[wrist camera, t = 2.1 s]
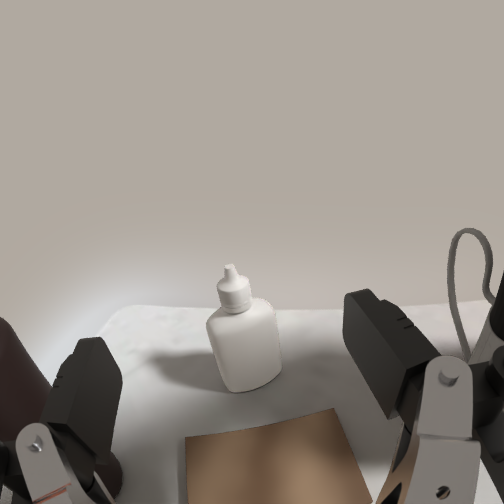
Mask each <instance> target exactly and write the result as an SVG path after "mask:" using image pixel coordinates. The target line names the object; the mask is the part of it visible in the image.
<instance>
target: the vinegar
mask: <svg viewBox="0 0 504 504" xmlns="http://www.w3.org/2000/svg"><path fill="white" fill-rule="evenodd" d="M51 388H53V387H52V386H51V385H50V384H49V382H48V381H47V380H46V378H45V377H44V376H43V374H42V373H41V371H40V370H39V369H38V367H37V366H36V364H35V363H34V361H33V360H32V359H31V357H30V356H29V354H28V353H27V351H26V349H25V348H24V346H23V345H22V343H21V342H20V340H19V339H18V337H17V335H16V333H15V332H14V330H13V329H12V327H11V326H10V324H9V323H8V322H7V321H5V320H4V319H3V318H1V317H0V441H1V442H7V441H13V440H16V439H17V437H18V435H19V433H20V432H21V430H22V429H23V428H25V427H26V426H27V425H30V424H32V423H38V422H39V420H40V417H41V414H42V411H43V409H44V406H45V403H46V401H47V398H48V395H49V393H50V390H51ZM94 471H95V472H96V473H97V474H98V476H99V478H100V479H101V481H102V482H103V484H104V486H105V487H106V489H107V490H108V492H109V493H110V495H111V497H112V498H113V499H114V498H115V497H116V495H117V494H118V493H119V490H120V487H121V485H122V470H121V467H120V463H119V461H118V460H117V459H116V457H115V456H114V454H113V453H112V452H111V451H110V457H109V464H108V465H101V464H95V470H94Z"/></svg>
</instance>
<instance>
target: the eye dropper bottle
mask: <svg viewBox="0 0 504 504" xmlns="http://www.w3.org/2000/svg"><path fill="white" fill-rule="evenodd" d="M217 290H218V294H219V298H220V302H221V306H222V307H220V308H219V309H218V310H217V311H216V312H214V313H213V314H212V315H211V316H210V317H209V319H208V320H207V322H206V329H207V333H208V337H209V340H210V343H211V347H212V350H213V353H214V356H215V359H216V362H217V365H218V368H219V371H220V374H221V377H222V380H223V382H224V383H225V385H226V387H227V388H228V390H230V391H231V392H234V393H239V392H245V391H250V390H253V389H256V388H259V387H261V386H263V385H265V384H267V383H268V382H270V381H271V380H272V379H274V378H275V377H276V376H277V375H278V374H279V373H280V371H281V369H282V360H281V352H280V343H279V336H278V328H277V321H276V315H275V311H274V309H273V307H272V306H271V305H270V304H269V303H268V302H267V301H266V300H264V299H262V298H252V294H251V288H250V283H249V279H248V278H247V277H245V276H243V275H238V273H237V271H236V269H235V266H234V264H228V265H226V266H225V277H224V278H223V279H221V280H220V281H219V282H218V284H217Z"/></svg>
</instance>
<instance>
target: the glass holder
mask: <svg viewBox="0 0 504 504" xmlns="http://www.w3.org/2000/svg"><path fill="white" fill-rule="evenodd" d="M464 233H470V234H473V235H474V236H475V237H477V239H478V240H479V241H480V243H481V245H482V247H483V250H484V253H485V261H486V266H485V274H484V279H483V285H482V288H483V289H482V290H483V294H484V296H485V298H486V299H487V301H488V302H489V303H491V304H492V307H491V308H490V311H489V313H488V316H487V319H486V321H485V324H484V327H483V329H482V332H481V335H480V337H479V340H478V342H477V344H476V347H475V349H474V351H473V354H472V356H471V354H470V349H469V346H468V342H467V339H466V336H465V333H464V330H463V326H462V323H461V319H460V316H459V312H458V308H457V302H456V295H455V284H454V264H455V256H456V249H457V245H458V241H459V239H460V237H461V235H462V234H464ZM492 267H493V255H492V250H491V247H490V244H489V242H488V241H487V239H486V237H485V236H484V235H483V234H482V233H481V232H480V231H479V230H476V229H474V228H465V229H462V230H460V231H459V232H457V233H456V234H455V236H454V238H453V239H452V242H451V246H450V250H449V258H448V266H447V284H448V296H449V304H450V310H451V314H452V318H453V321H454V324H455V327H456V331H457V335H458V338H459V341H460V344H461V348H462V351H463V355H464V359H465V363H466V364H467V365H471V364H476V363H482V362H486V361H490V359H491V357H492V355H493V353H494V351H495V350H496V349H497V348H498V347H500V346H503V345H504V273H503V276H502V280H501V283H500V286H499V290H498V293H497V296H496V298H495V297H494V296H493V295H492V293H491V292H490V289H489V283H490V277H491V273H492ZM503 411H504V410H503Z"/></svg>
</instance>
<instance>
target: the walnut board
mask: <svg viewBox="0 0 504 504" xmlns="http://www.w3.org/2000/svg"><path fill="white" fill-rule="evenodd" d="M185 444H186V475H187V494H188V504H371V503H372V502H373V500H372V498H371V495H370V493H369V491H368V488H367V486H366V483H365V481H364V478H363V476H362V474H361V471H360V469H359V467H358V464H357V462H356V459H355V457H354V455H353V452H352V450H351V448H350V445H349V443H348V440H347V438H346V436H345V433H344V431H343V429H342V426H341V424H340V422H339V419H338V417H337V415H336V412H335V410H334V408H332V409H328V410H325V411H322V412H318V413H315V414H311V415H307V416H303V417H300V418H296V419H292V420H287V421H283V422H279V423H274V424H270V425H265V426H260V427H255V428H249V429H244V430H238V431H232V432H225V433H218V434H210V435H202V436H193V437H185Z"/></svg>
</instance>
